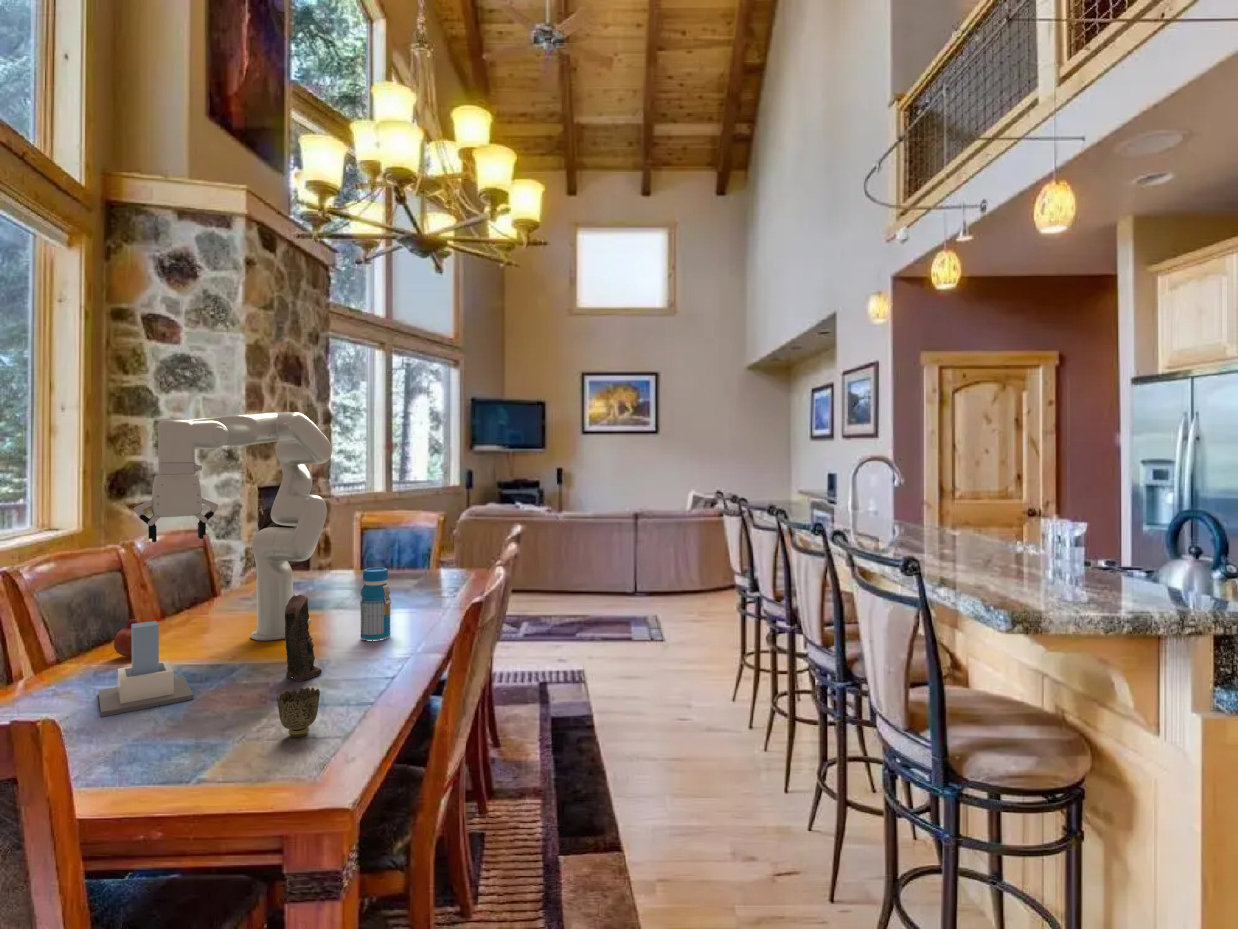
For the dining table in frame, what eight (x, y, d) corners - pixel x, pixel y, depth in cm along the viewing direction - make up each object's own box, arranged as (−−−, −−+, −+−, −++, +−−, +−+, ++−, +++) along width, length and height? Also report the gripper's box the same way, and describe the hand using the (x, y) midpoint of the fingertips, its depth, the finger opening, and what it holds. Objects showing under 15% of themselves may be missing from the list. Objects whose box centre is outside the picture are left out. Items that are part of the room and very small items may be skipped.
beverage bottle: (366, 644, 191) (366, 573, 191) (355, 637, 198) (355, 569, 197) (395, 638, 197) (395, 569, 197) (384, 632, 203) (383, 565, 203)
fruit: (131, 662, 174) (131, 623, 173) (105, 660, 175) (105, 622, 175) (159, 653, 182) (158, 616, 181) (133, 651, 183) (133, 614, 183)
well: (183, 679, 161) (183, 654, 161) (193, 699, 148) (193, 671, 148) (98, 694, 151) (98, 667, 151) (101, 717, 138) (101, 687, 138)
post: (156, 687, 153) (155, 620, 153) (159, 693, 149) (158, 624, 149) (131, 692, 150) (131, 624, 150) (133, 697, 147) (133, 628, 146)
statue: (323, 674, 165) (322, 592, 165) (300, 683, 159) (300, 598, 158) (300, 671, 168) (300, 590, 167) (277, 680, 161) (276, 596, 160)
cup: (286, 727, 134) (286, 687, 134) (325, 726, 134) (325, 686, 134) (270, 743, 126) (270, 701, 126) (311, 742, 127) (311, 699, 127)
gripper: (214, 469, 175) (215, 535, 176) (132, 470, 164) (133, 541, 165) (220, 470, 169) (220, 538, 170) (134, 471, 158) (135, 544, 159)
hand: (177, 540), depth 167 cm, fingers open, 9 cm apart
